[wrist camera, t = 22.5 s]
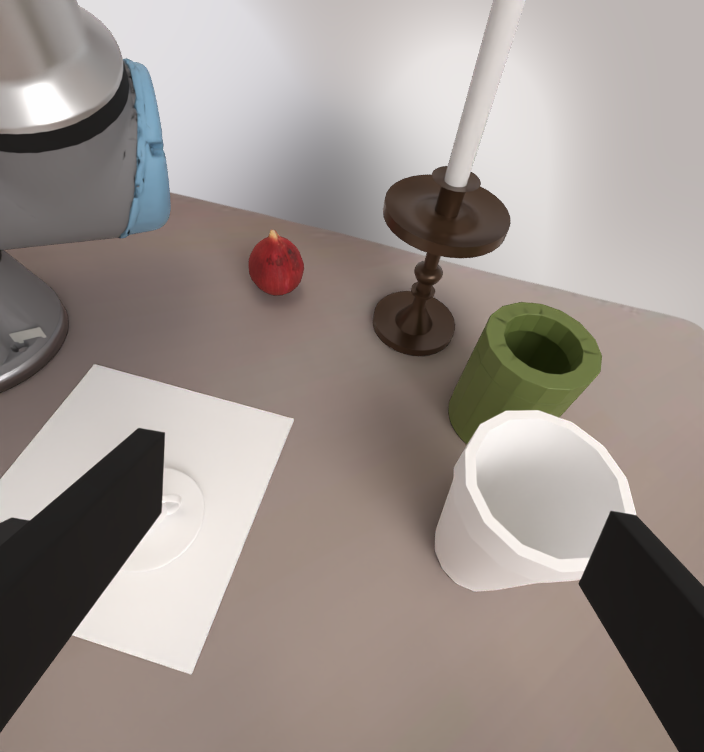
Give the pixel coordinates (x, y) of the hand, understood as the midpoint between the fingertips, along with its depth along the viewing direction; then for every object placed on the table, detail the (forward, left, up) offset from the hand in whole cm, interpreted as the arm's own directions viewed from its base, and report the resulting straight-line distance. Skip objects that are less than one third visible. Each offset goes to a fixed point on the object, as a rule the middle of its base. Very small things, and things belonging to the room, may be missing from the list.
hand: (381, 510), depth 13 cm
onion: (-33, +5, -22) cm, 40 cm away
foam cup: (-1, +12, -22) cm, 25 cm away
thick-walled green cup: (-11, +20, -22) cm, 32 cm away
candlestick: (-24, +18, -22) cm, 38 cm away
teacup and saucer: (-14, -12, -22) cm, 29 cm away
